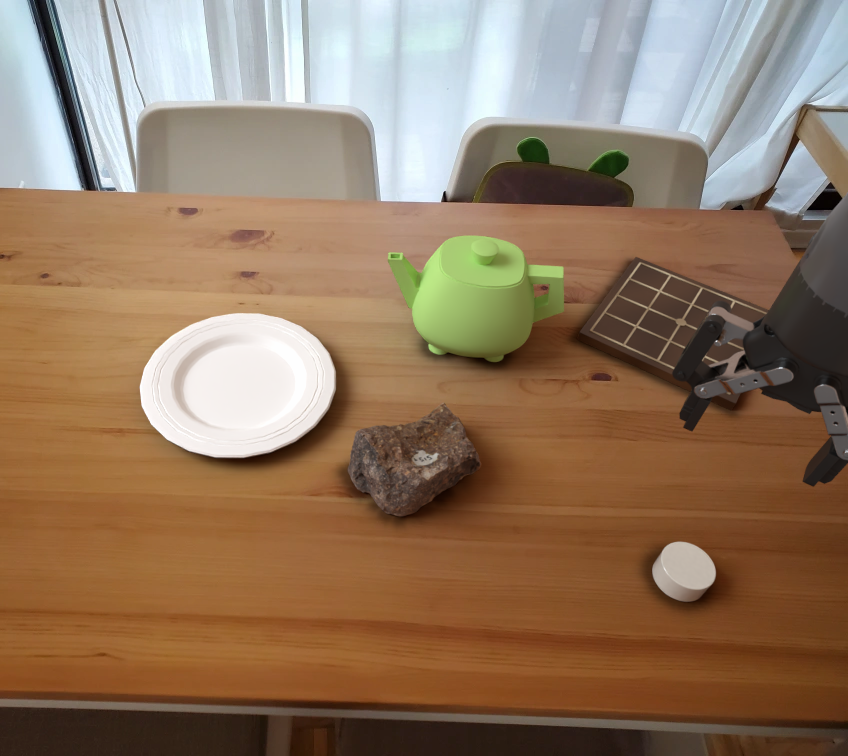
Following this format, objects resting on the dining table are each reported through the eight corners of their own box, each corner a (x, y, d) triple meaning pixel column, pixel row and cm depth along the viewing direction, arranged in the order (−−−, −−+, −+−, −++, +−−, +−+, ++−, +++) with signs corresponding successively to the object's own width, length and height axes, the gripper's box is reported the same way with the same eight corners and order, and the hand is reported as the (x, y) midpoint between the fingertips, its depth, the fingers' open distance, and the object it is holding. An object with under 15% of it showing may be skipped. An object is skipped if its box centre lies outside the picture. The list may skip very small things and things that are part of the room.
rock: (449, 422, 76) (454, 381, 71) (496, 475, 71) (505, 435, 66) (344, 474, 71) (342, 435, 67) (387, 534, 67) (388, 496, 62)
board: (774, 321, 88) (779, 313, 87) (731, 410, 78) (736, 402, 77) (632, 263, 95) (636, 255, 94) (576, 339, 85) (579, 331, 84)
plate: (101, 401, 77) (97, 389, 75) (235, 299, 88) (234, 287, 87) (246, 504, 68) (245, 493, 67) (374, 378, 80) (375, 366, 78)
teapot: (374, 360, 82) (381, 274, 72) (389, 285, 91) (397, 199, 81) (553, 385, 80) (583, 299, 70) (549, 305, 89) (577, 220, 79)
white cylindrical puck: (712, 573, 65) (723, 560, 63) (695, 612, 62) (706, 599, 60) (662, 545, 67) (671, 532, 65) (644, 582, 64) (653, 569, 62)
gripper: (729, 266, 42) (637, 438, 54) (1016, 370, 37) (844, 534, 48) (758, 206, 46) (667, 377, 58) (1019, 291, 41) (860, 460, 53)
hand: (748, 449), depth 53 cm, fingers open, 8 cm apart
